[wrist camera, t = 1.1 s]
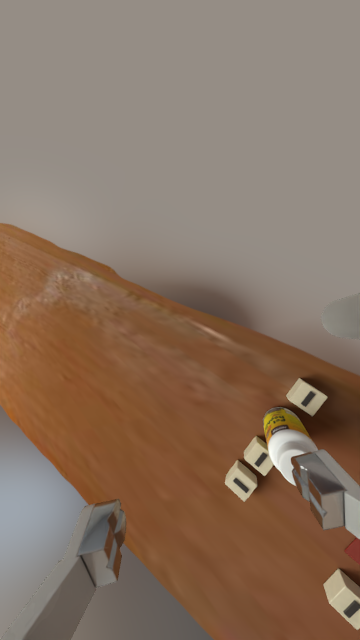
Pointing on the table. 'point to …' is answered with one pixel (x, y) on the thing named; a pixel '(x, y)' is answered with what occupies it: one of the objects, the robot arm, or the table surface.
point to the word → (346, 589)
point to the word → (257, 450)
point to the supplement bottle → (286, 439)
